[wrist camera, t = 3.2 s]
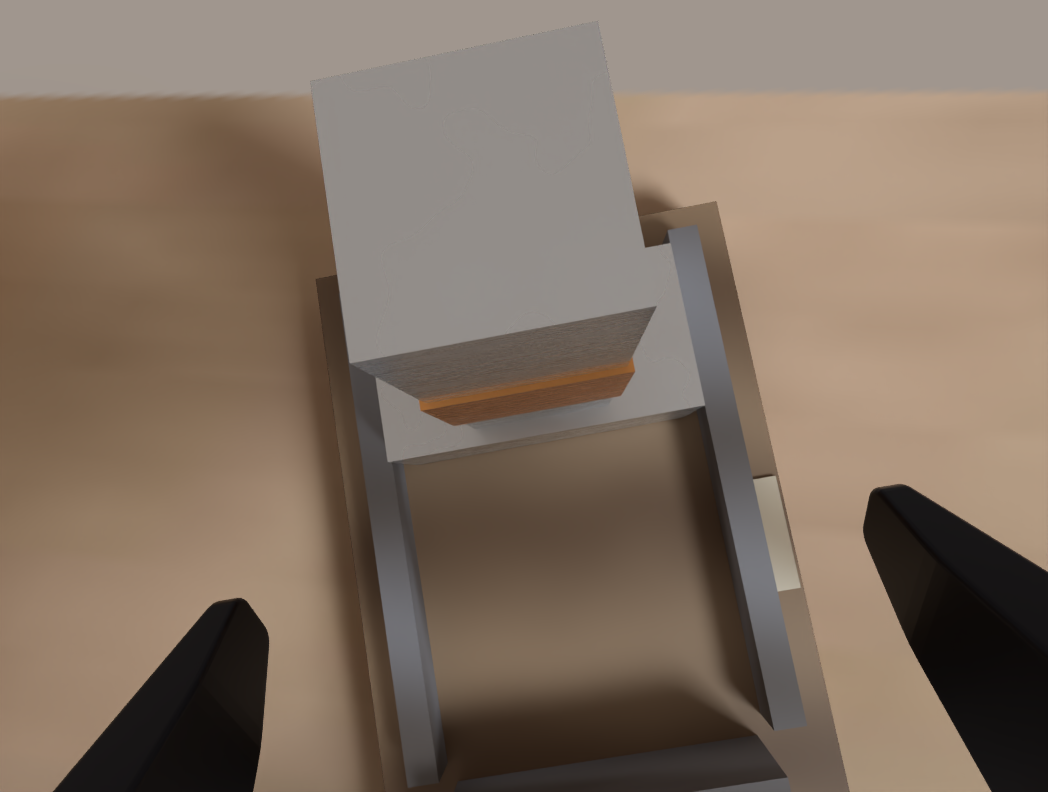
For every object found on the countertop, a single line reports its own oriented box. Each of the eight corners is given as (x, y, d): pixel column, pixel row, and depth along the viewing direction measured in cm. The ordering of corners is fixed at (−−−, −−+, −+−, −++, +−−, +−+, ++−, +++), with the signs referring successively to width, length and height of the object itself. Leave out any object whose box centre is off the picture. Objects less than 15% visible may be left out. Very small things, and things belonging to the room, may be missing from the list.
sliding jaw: (683, 417, 18) (885, 302, 7) (416, 465, 19) (150, 439, 7) (655, 280, 19) (794, -56, 7) (396, 329, 19) (115, 88, 7)
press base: (835, 826, 19) (917, 934, 14) (421, 887, 19) (376, 1009, 15) (702, 227, 21) (737, 160, 17) (338, 297, 22) (279, 250, 17)
